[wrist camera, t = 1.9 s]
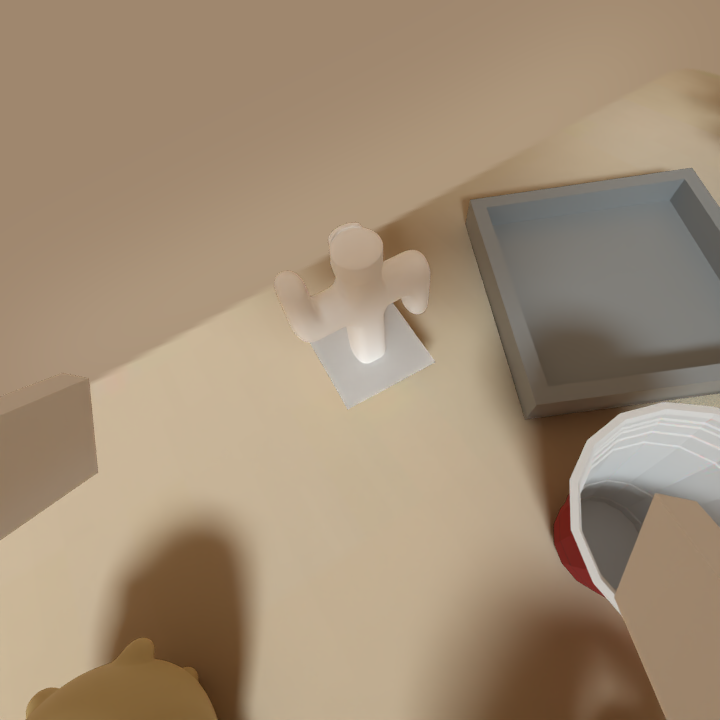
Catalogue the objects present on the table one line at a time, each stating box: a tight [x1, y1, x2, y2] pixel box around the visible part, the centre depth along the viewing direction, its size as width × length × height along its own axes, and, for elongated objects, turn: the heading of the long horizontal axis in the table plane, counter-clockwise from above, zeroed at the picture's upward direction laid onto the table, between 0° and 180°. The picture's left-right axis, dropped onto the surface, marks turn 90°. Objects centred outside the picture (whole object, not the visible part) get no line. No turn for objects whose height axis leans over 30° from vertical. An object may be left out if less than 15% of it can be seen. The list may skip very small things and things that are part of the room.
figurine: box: [274, 222, 435, 409], centre depth 29 cm, size 7×9×15 cm
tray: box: [466, 168, 720, 419], centre depth 36 cm, size 20×20×3 cm
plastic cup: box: [554, 402, 720, 616], centre depth 23 cm, size 11×11×12 cm
